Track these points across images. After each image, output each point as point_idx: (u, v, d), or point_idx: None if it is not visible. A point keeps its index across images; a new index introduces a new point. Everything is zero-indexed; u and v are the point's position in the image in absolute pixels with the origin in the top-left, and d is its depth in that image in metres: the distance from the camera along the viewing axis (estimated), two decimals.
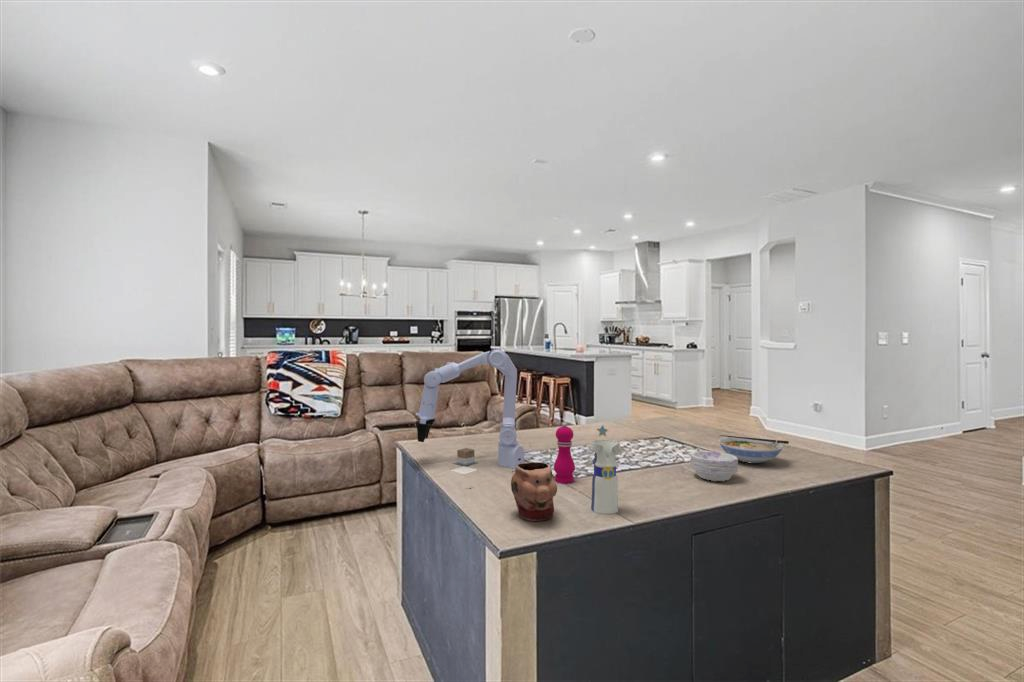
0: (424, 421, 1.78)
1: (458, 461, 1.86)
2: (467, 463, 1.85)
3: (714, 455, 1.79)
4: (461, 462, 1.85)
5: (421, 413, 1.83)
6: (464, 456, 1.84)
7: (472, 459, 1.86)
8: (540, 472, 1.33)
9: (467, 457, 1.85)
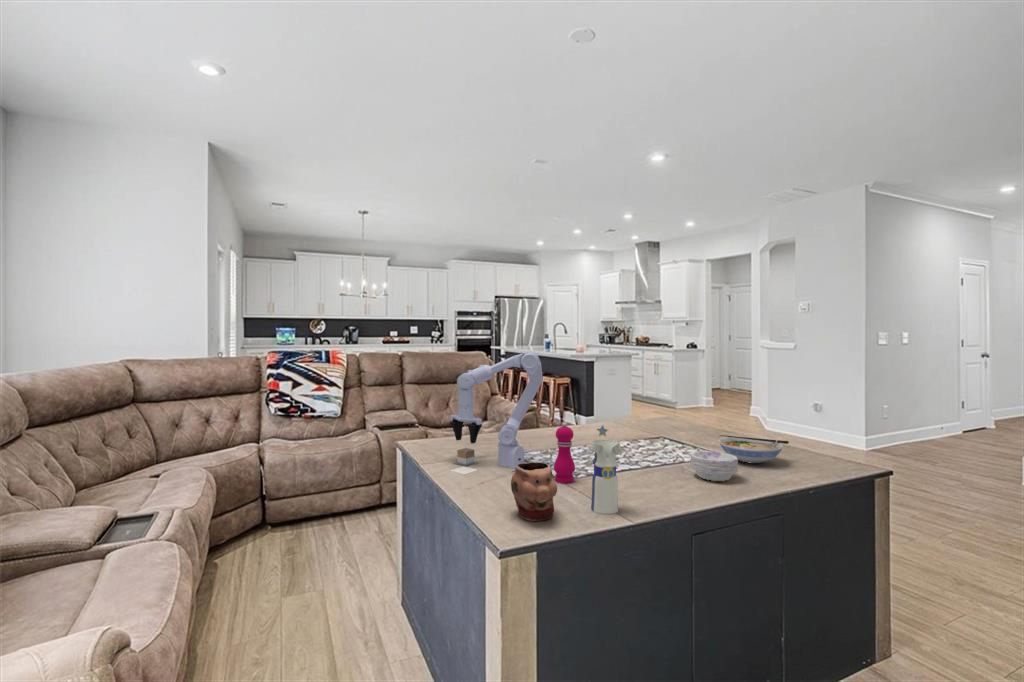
0: (481, 421, 1.83)
1: (458, 461, 1.86)
2: (467, 463, 1.85)
3: (714, 455, 1.79)
4: (461, 462, 1.85)
5: (467, 416, 1.84)
6: (464, 456, 1.84)
7: (472, 459, 1.86)
8: (540, 472, 1.33)
9: (467, 457, 1.85)
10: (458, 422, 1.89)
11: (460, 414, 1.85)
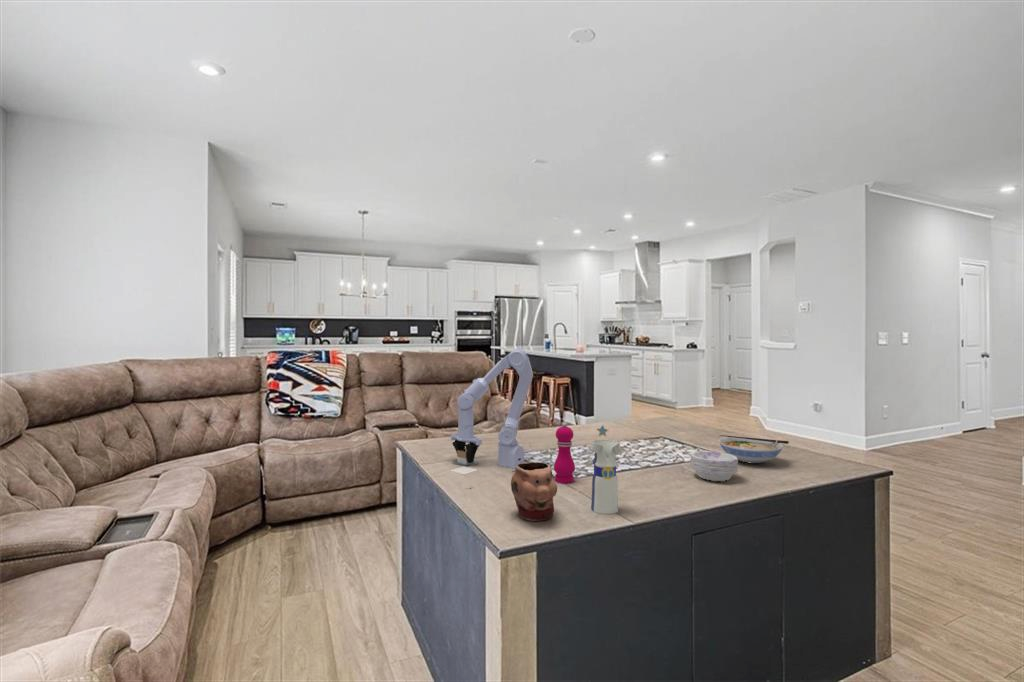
0: (481, 442, 1.83)
1: (458, 461, 1.86)
2: (467, 463, 1.85)
3: (714, 455, 1.79)
4: (461, 462, 1.85)
5: (467, 436, 1.84)
6: (464, 456, 1.84)
7: None
8: (540, 472, 1.33)
9: (467, 457, 1.85)
10: (460, 442, 1.88)
11: (460, 434, 1.85)
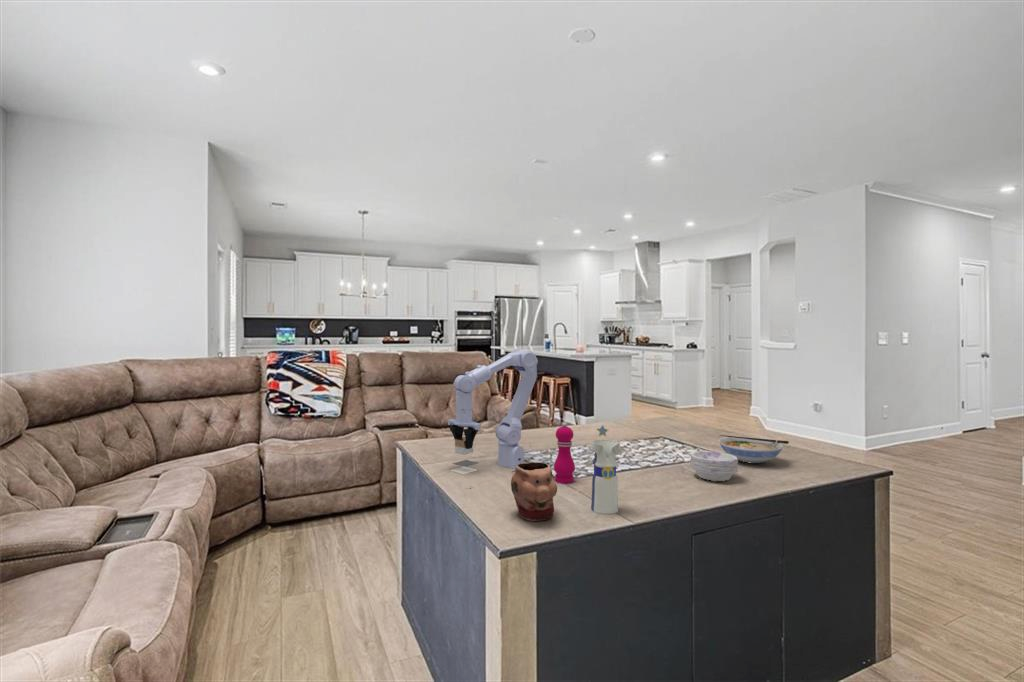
0: (479, 426, 1.73)
1: (456, 451, 1.77)
2: (465, 452, 1.75)
3: (714, 455, 1.79)
4: (459, 451, 1.76)
5: (465, 421, 1.75)
6: (462, 445, 1.75)
7: (470, 448, 1.77)
8: (540, 472, 1.33)
9: (465, 446, 1.75)
10: (458, 427, 1.79)
11: (458, 418, 1.75)
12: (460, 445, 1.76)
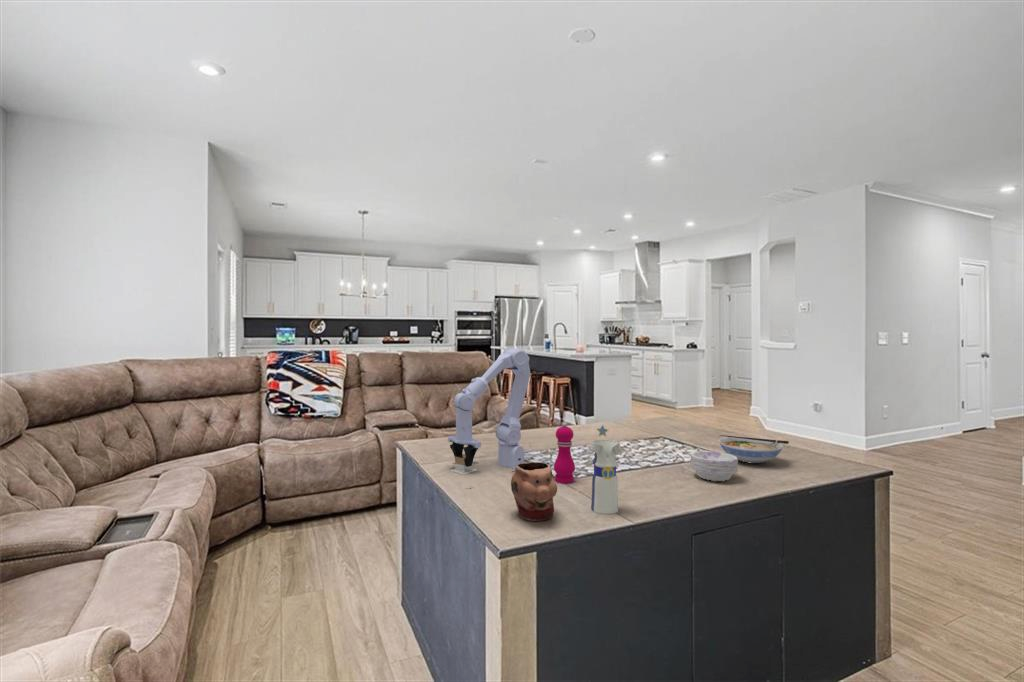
0: (479, 444, 1.73)
1: (456, 468, 1.77)
2: (465, 470, 1.75)
3: (714, 455, 1.79)
4: (459, 469, 1.76)
5: (465, 439, 1.75)
6: (462, 463, 1.75)
7: (470, 466, 1.77)
8: (540, 472, 1.33)
9: (465, 464, 1.75)
10: (458, 445, 1.79)
11: (458, 436, 1.75)
12: (460, 463, 1.76)
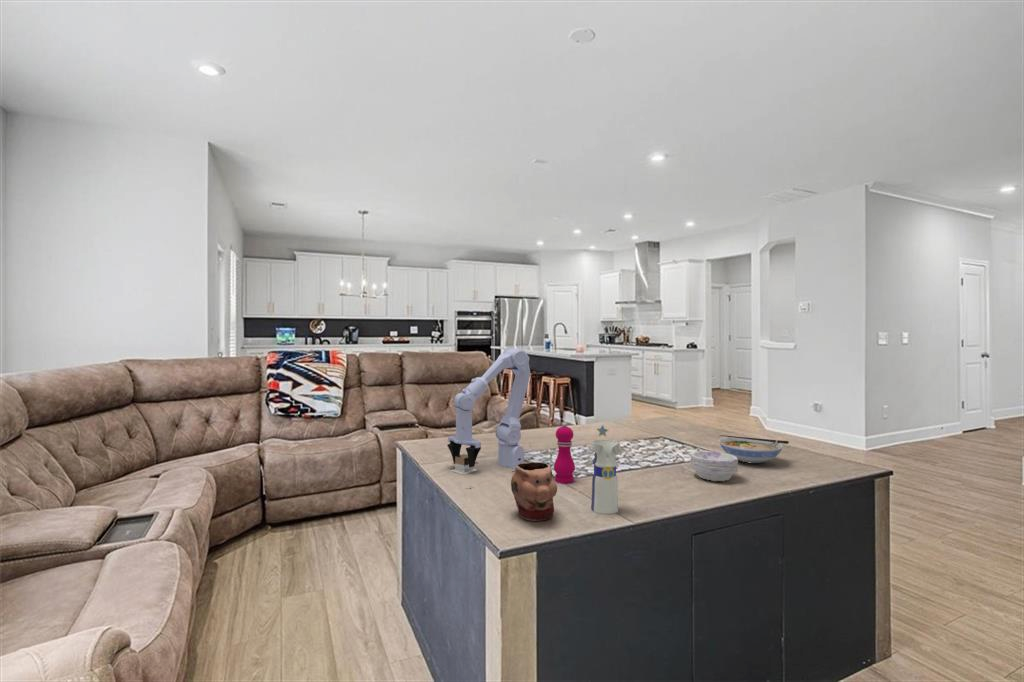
0: (479, 444, 1.73)
1: (456, 468, 1.77)
2: (465, 470, 1.75)
3: (714, 455, 1.79)
4: (459, 469, 1.76)
5: (465, 439, 1.75)
6: (462, 463, 1.75)
7: None
8: (540, 472, 1.33)
9: (465, 464, 1.75)
10: (456, 444, 1.80)
11: (458, 436, 1.75)
12: (460, 463, 1.76)
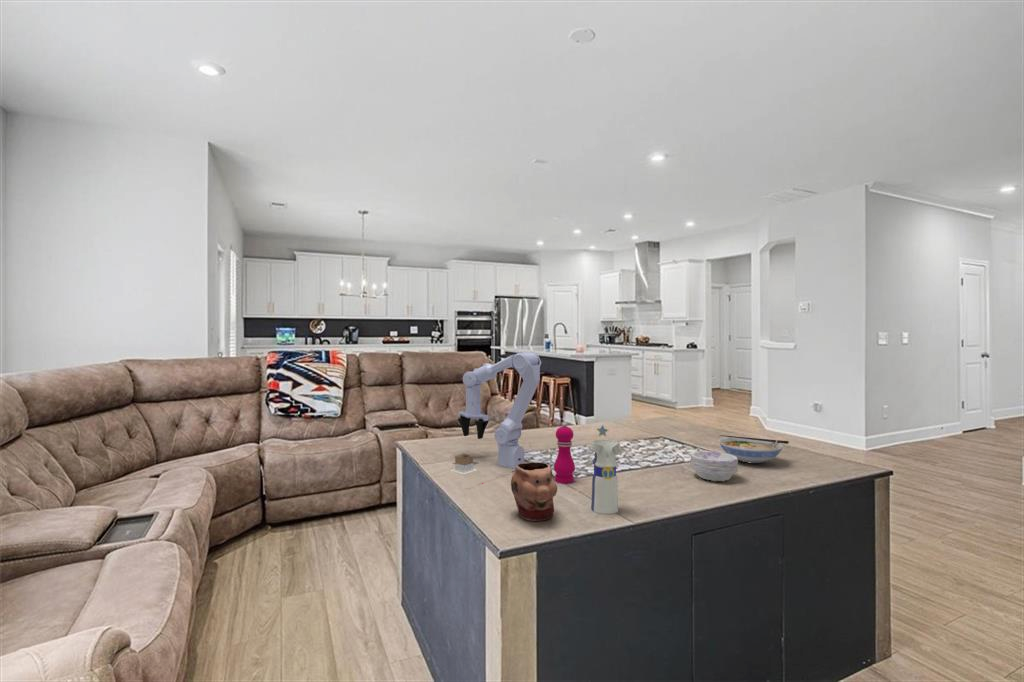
0: (487, 418, 1.90)
1: (456, 468, 1.77)
2: (465, 470, 1.75)
3: (714, 455, 1.79)
4: (459, 469, 1.76)
5: (474, 413, 1.91)
6: (462, 463, 1.75)
7: (470, 466, 1.77)
8: (540, 472, 1.33)
9: (465, 464, 1.75)
10: (465, 418, 1.96)
11: (468, 411, 1.92)
12: (460, 463, 1.76)
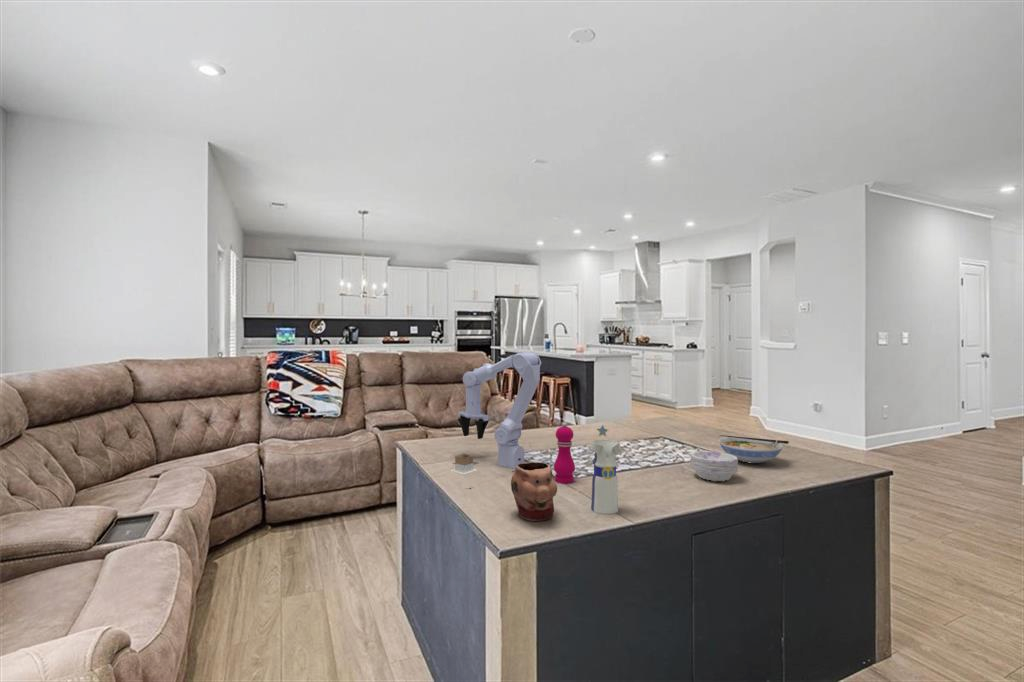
0: (487, 418, 1.90)
1: (456, 468, 1.77)
2: (465, 470, 1.75)
3: (714, 455, 1.79)
4: (459, 469, 1.76)
5: (474, 413, 1.91)
6: (462, 463, 1.75)
7: (470, 466, 1.77)
8: (540, 472, 1.33)
9: (465, 464, 1.75)
10: (465, 418, 1.96)
11: (468, 411, 1.92)
12: (460, 463, 1.76)
